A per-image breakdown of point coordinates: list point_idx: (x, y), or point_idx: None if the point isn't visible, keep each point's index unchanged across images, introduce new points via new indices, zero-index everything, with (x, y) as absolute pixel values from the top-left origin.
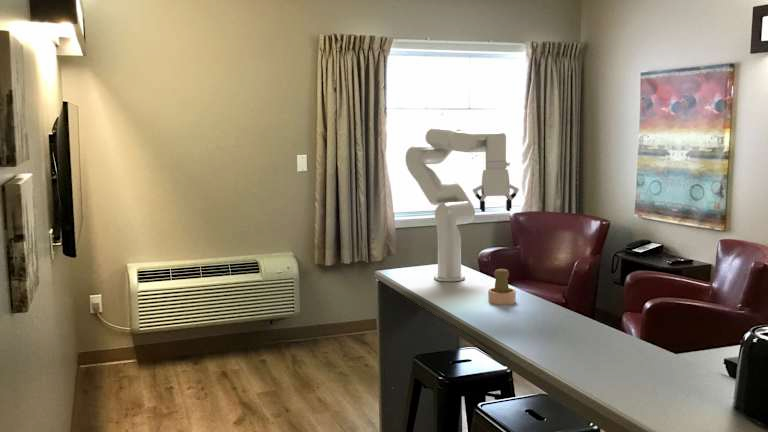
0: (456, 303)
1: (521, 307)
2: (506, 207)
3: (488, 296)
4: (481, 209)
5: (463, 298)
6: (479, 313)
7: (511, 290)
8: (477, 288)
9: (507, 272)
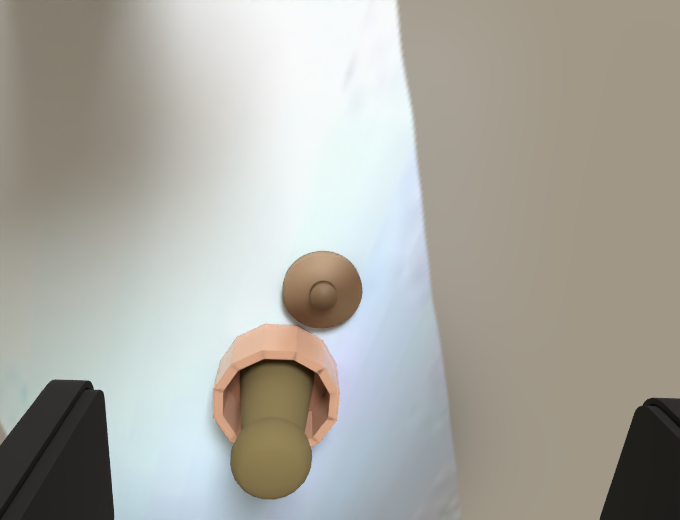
0: (69, 372)
1: (325, 465)
2: (673, 451)
3: (217, 374)
4: (43, 412)
5: (113, 296)
6: (144, 512)
7: (327, 388)
8: (228, 101)
9: (295, 490)
